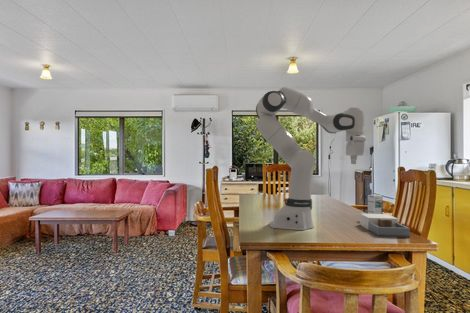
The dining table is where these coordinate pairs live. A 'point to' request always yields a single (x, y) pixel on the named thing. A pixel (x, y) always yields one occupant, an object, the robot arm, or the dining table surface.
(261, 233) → the dining table surface
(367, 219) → the raised plate
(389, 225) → the walnut tile
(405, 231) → the box
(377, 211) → the syrup box
